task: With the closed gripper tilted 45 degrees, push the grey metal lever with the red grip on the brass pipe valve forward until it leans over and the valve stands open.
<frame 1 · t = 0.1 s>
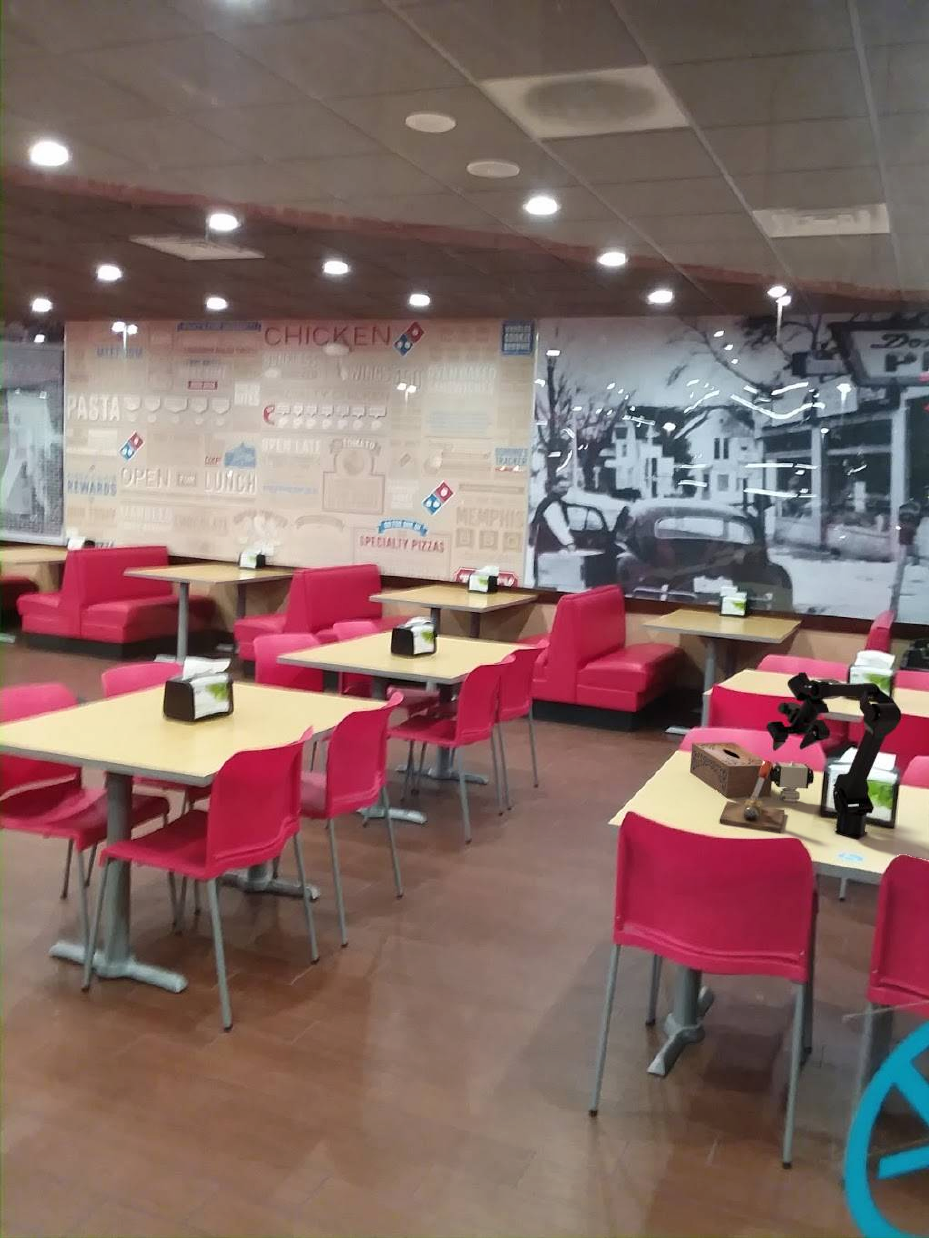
hand: (787, 749, 305), 15 cm above the table, tool tilted 35°, fingers open, 9 cm apart
tissue box cover: (728, 785, 319), on the table
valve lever: (760, 781, 285), point 11 cm above the table, hinge at -15.0°
pneumatic valve: (788, 800, 305), on the table
mounting board: (752, 818, 287), on the table
valve body: (752, 818, 287), resting on mounting board
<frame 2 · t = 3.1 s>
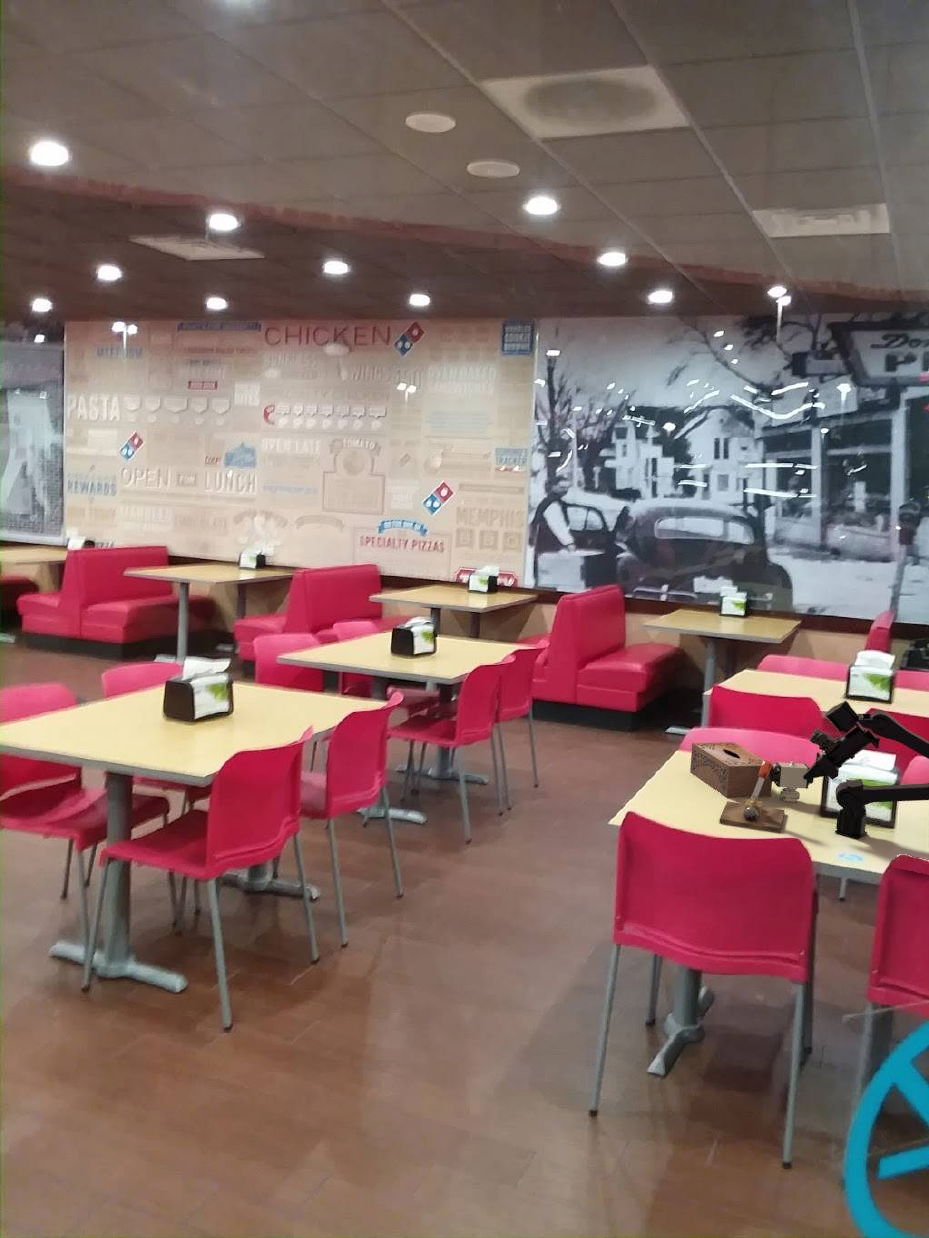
hand: (803, 778, 281), 14 cm above the table, tool tilted 45°, fingers closed
nothing on the table moved.
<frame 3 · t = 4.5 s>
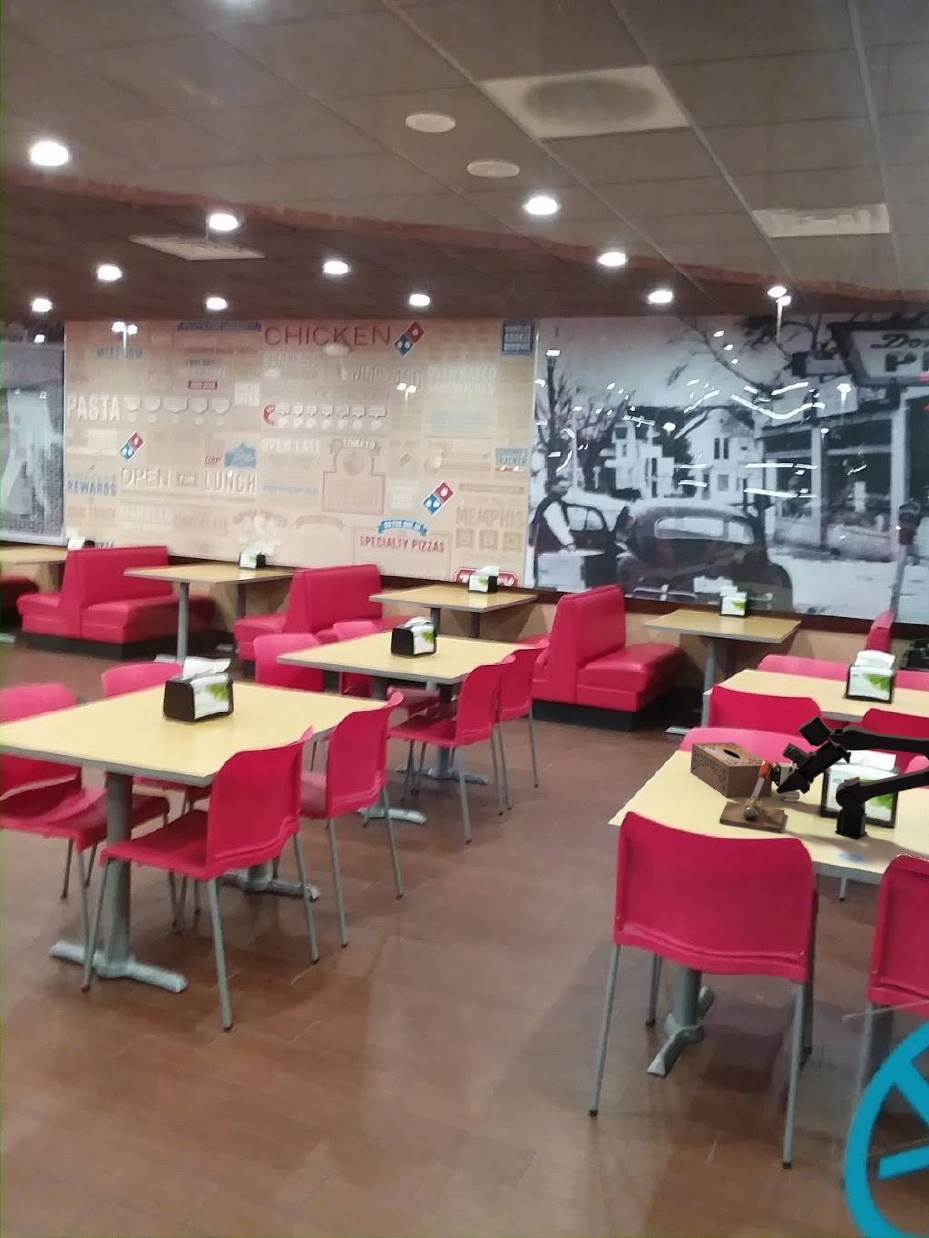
hand: (776, 791, 284), 9 cm above the table, tool tilted 45°, fingers closed
nothing on the table moved.
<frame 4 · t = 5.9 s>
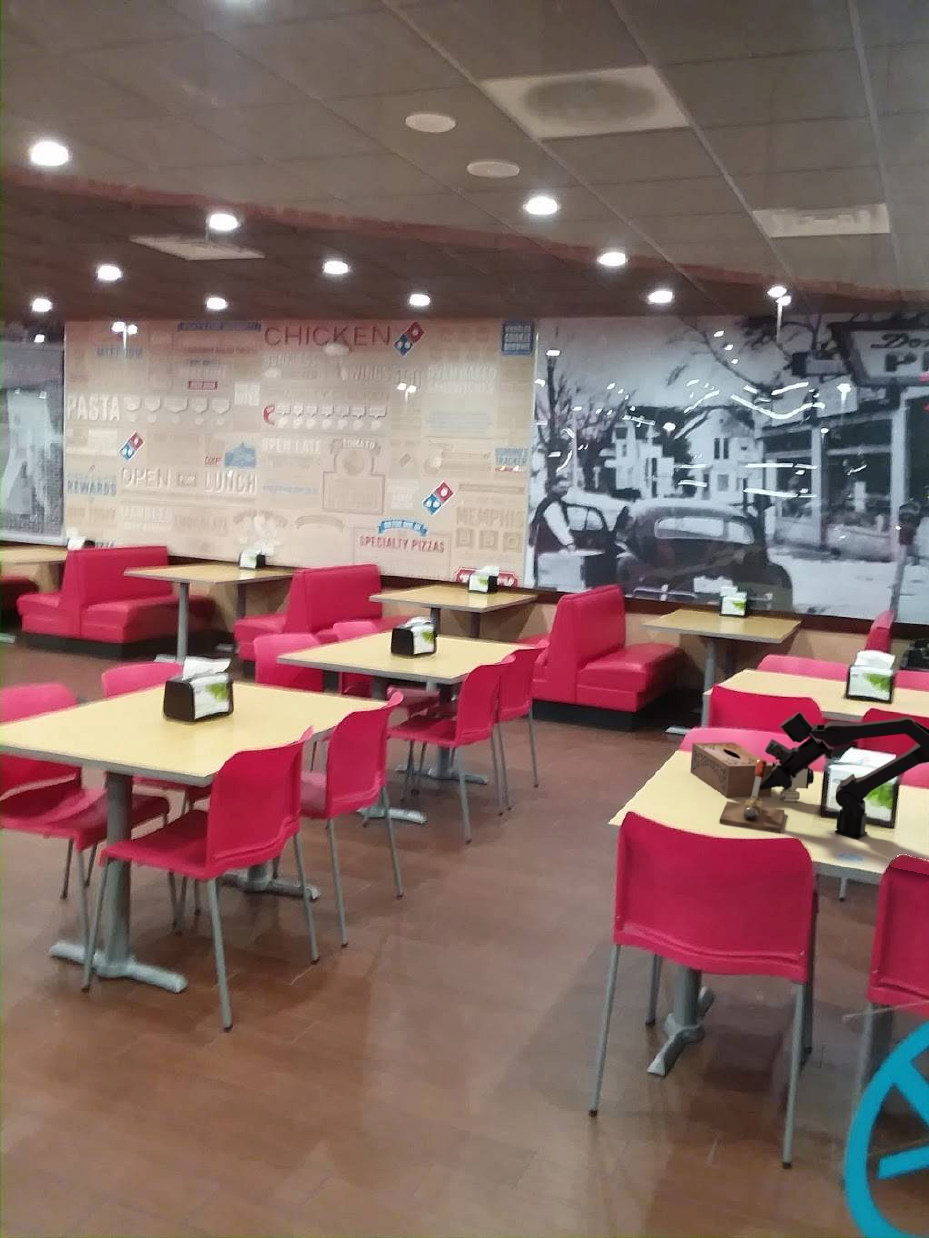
hand: (760, 788, 285), 9 cm above the table, tool tilted 45°, fingers closed, pressing on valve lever
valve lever: (757, 781, 286), point 11 cm above the table, hinge at -6.6°, touching gripper
everything else where it was.
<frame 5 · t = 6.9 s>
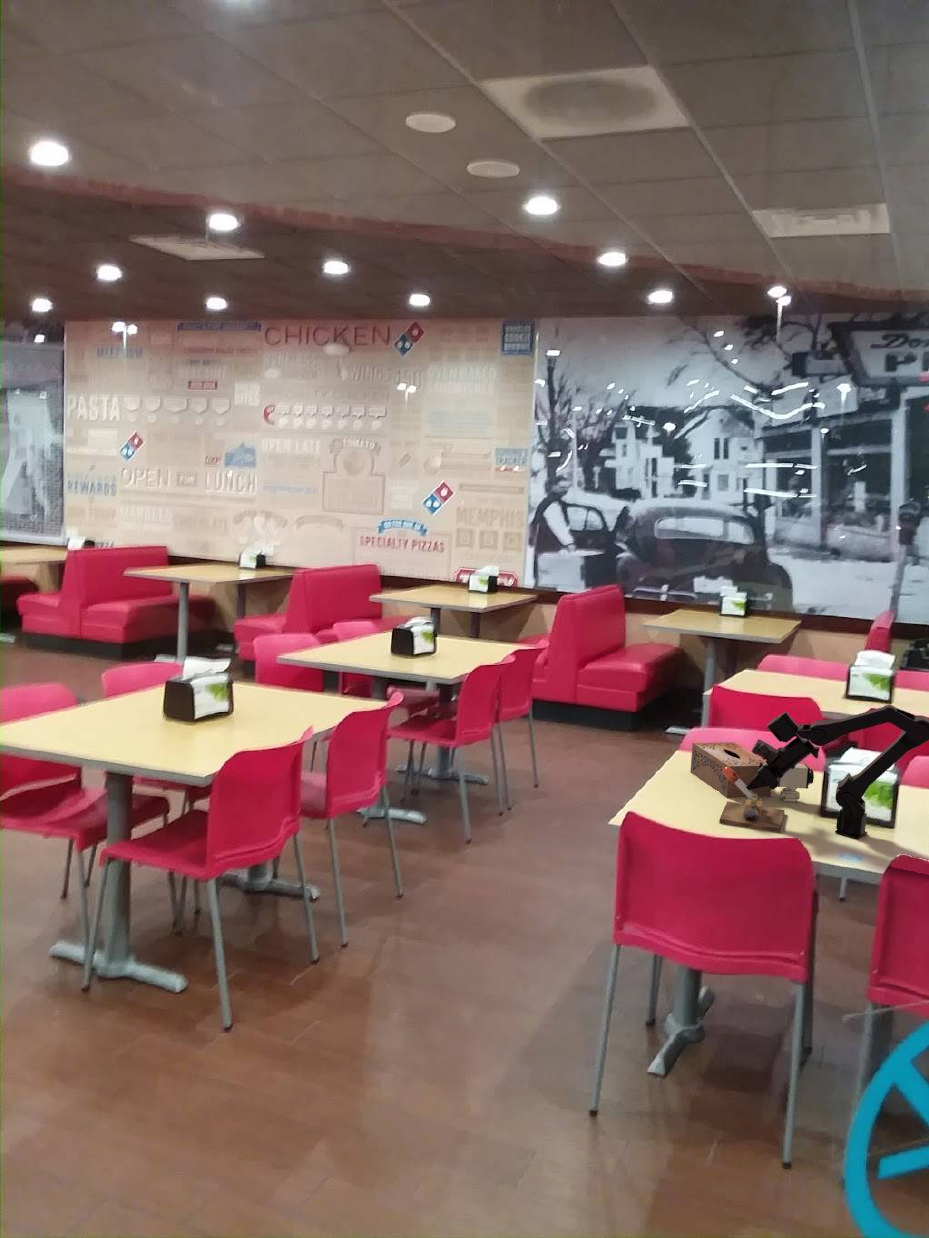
hand: (747, 788, 287), 8 cm above the table, tool tilted 45°, fingers closed, pressing on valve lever
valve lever: (740, 784, 287), point 9 cm above the table, hinge at 49.1°, touching gripper
everything else where it was.
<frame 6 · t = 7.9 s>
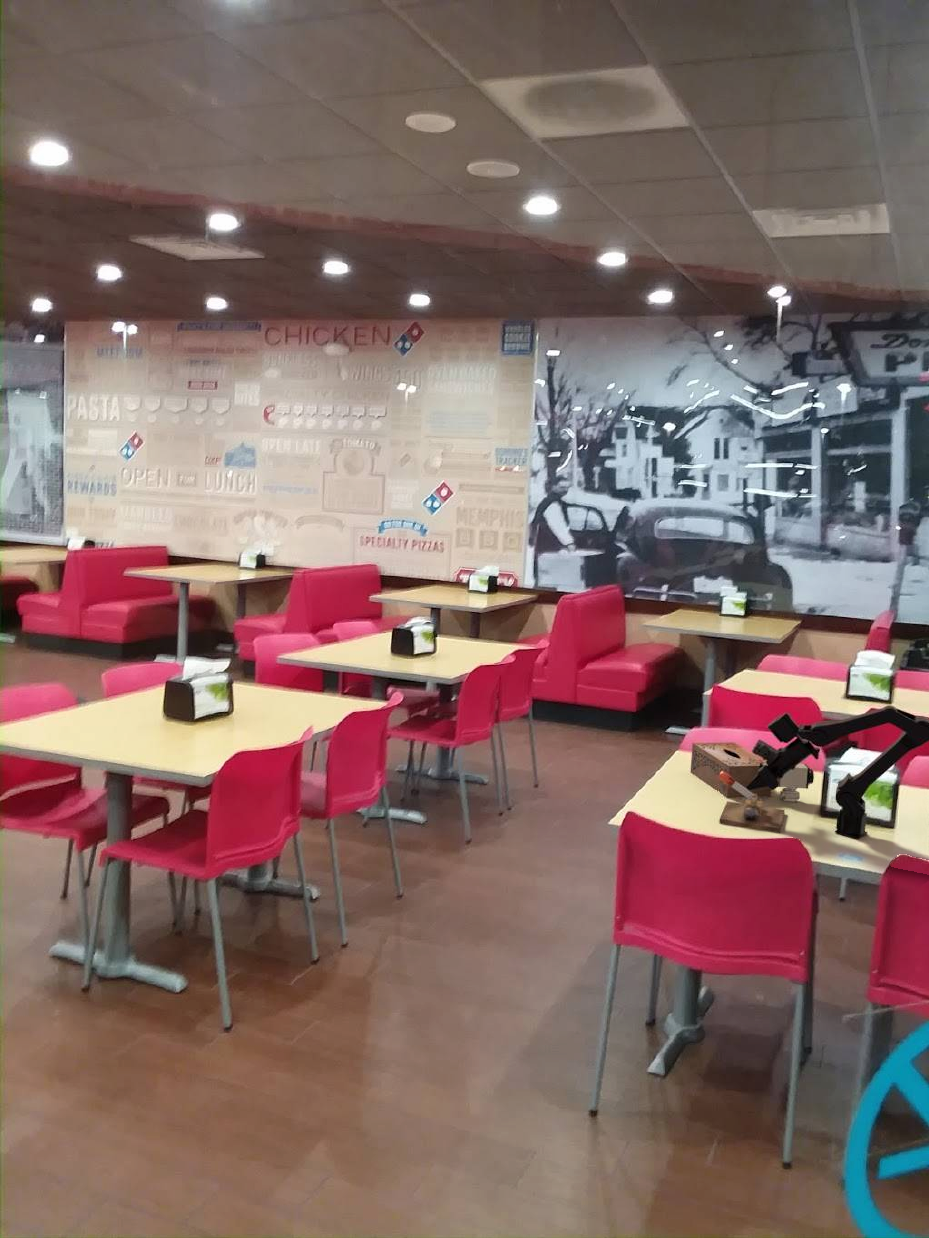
hand: (747, 788, 287), 8 cm above the table, tool tilted 45°, fingers closed
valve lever: (738, 787, 288), point 8 cm above the table, hinge at 60.3°
everything else where it was.
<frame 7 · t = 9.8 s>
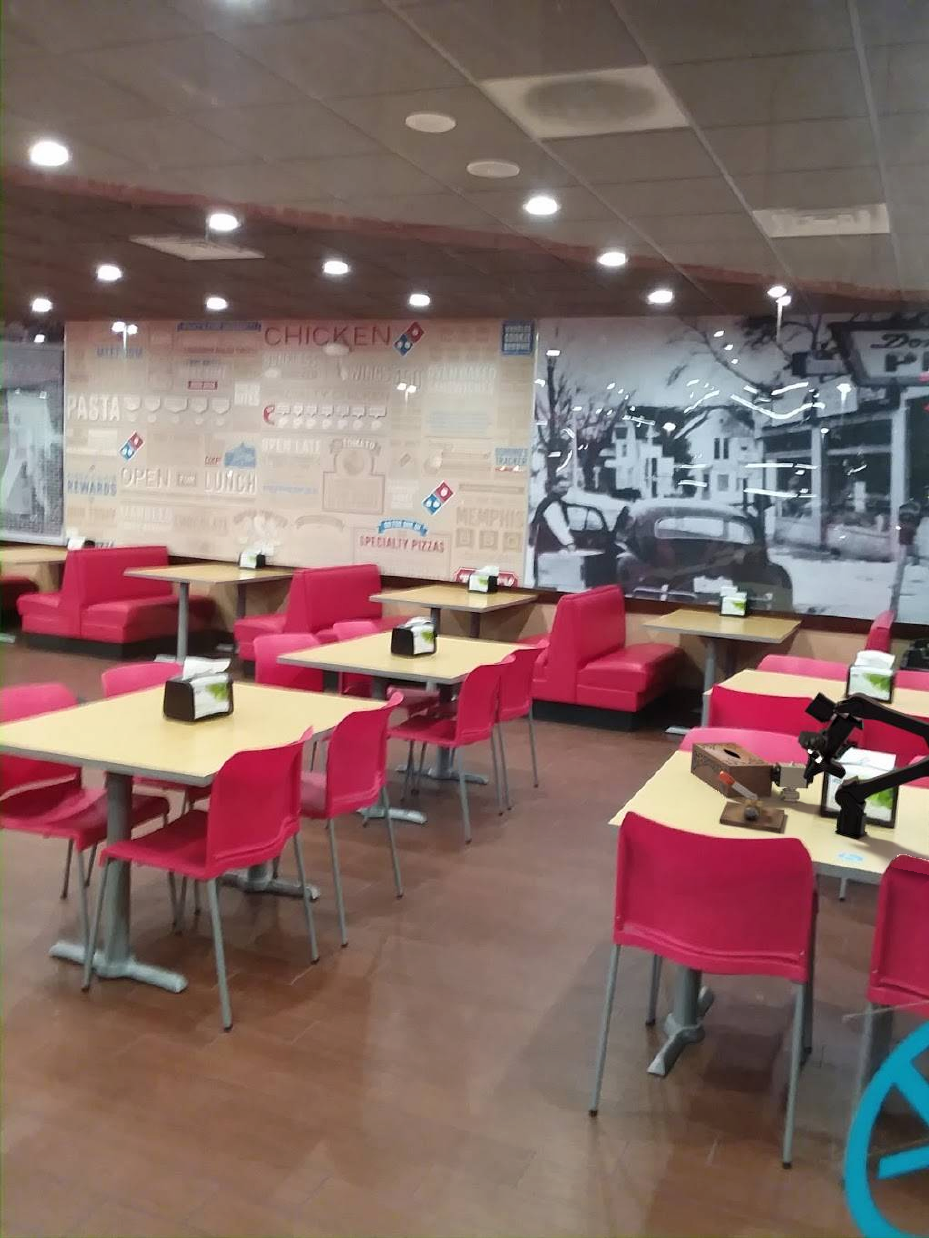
hand: (804, 778, 282), 13 cm above the table, tool tilted 30°, fingers closed
nothing on the table moved.
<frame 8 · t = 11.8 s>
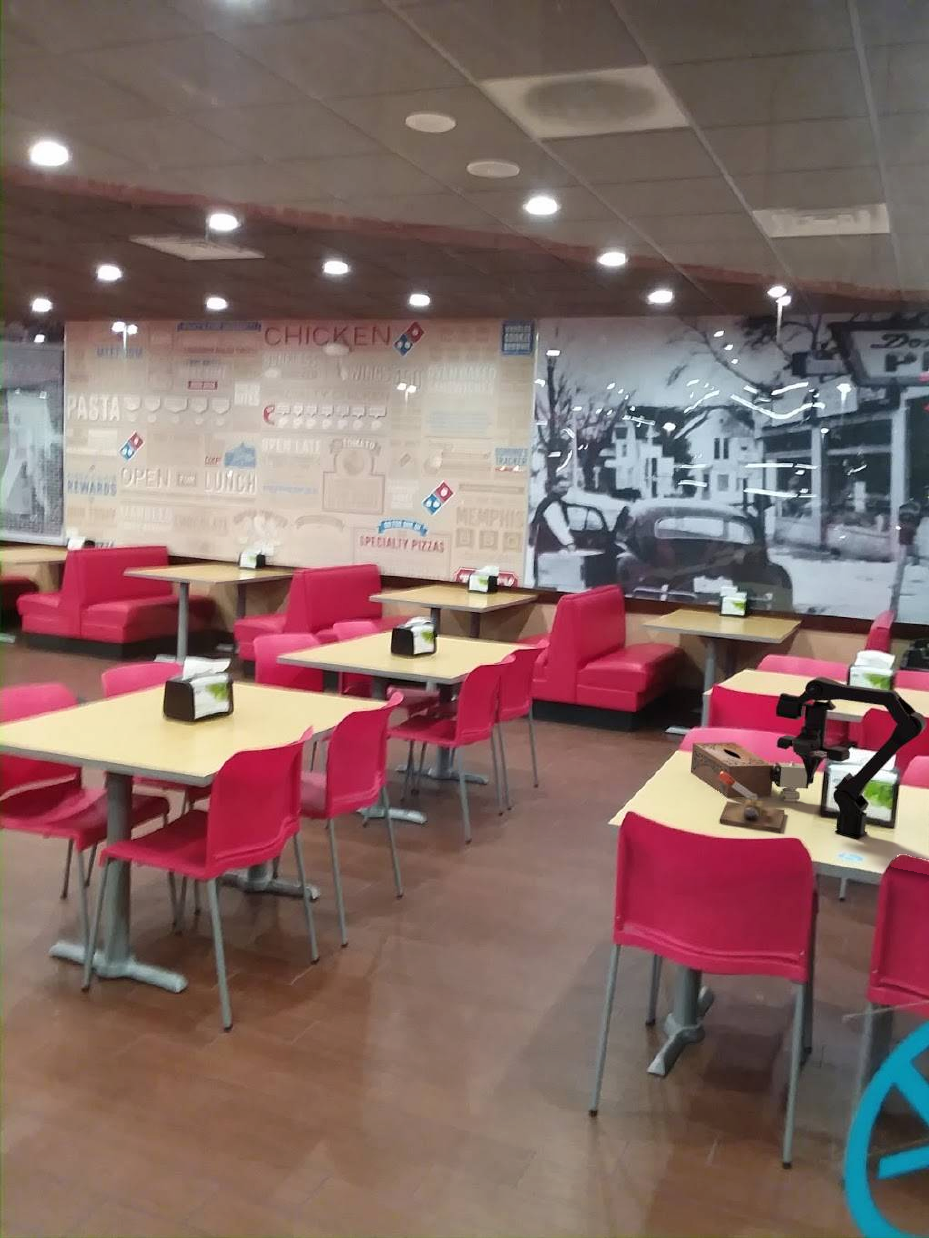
hand: (809, 778, 283), 13 cm above the table, tool pointing down, fingers closed
nothing on the table moved.
at the end: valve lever at +60° (first picture: -15°); the gripper is holding nothing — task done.
